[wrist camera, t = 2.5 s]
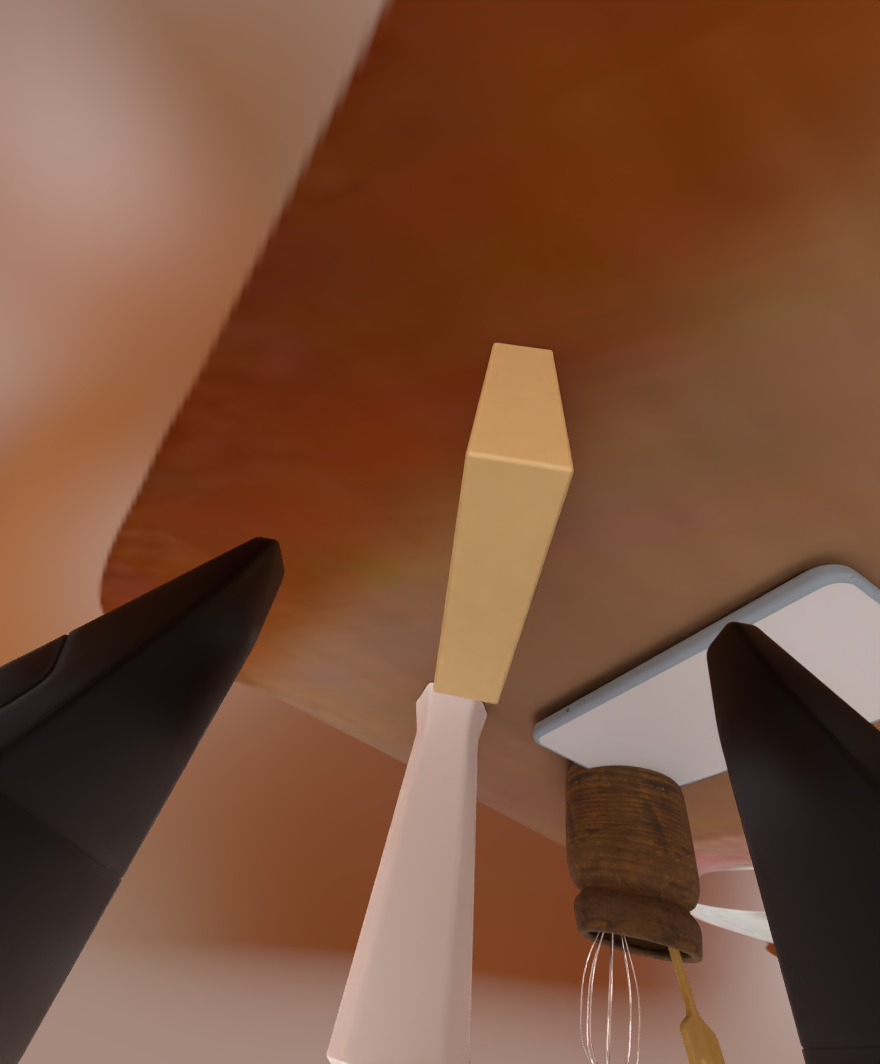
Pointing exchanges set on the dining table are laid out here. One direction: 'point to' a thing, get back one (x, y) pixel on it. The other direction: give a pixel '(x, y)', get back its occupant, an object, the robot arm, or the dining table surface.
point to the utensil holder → (637, 880)
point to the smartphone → (685, 692)
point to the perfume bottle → (420, 906)
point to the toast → (503, 520)
